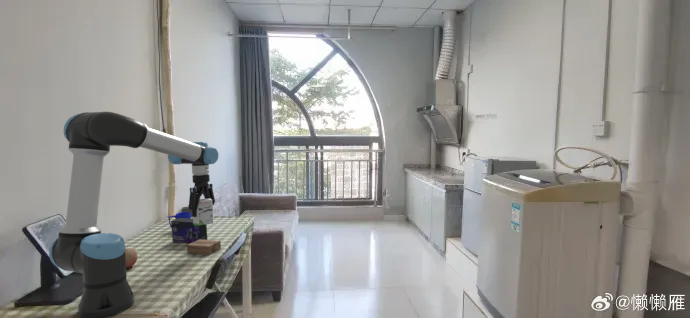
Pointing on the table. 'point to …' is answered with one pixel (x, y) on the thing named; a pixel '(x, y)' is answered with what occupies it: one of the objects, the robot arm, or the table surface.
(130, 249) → the fruit
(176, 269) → the table surface
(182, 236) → the box
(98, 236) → the robot arm
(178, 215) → the mug
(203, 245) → the walnut block
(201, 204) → the ink box
